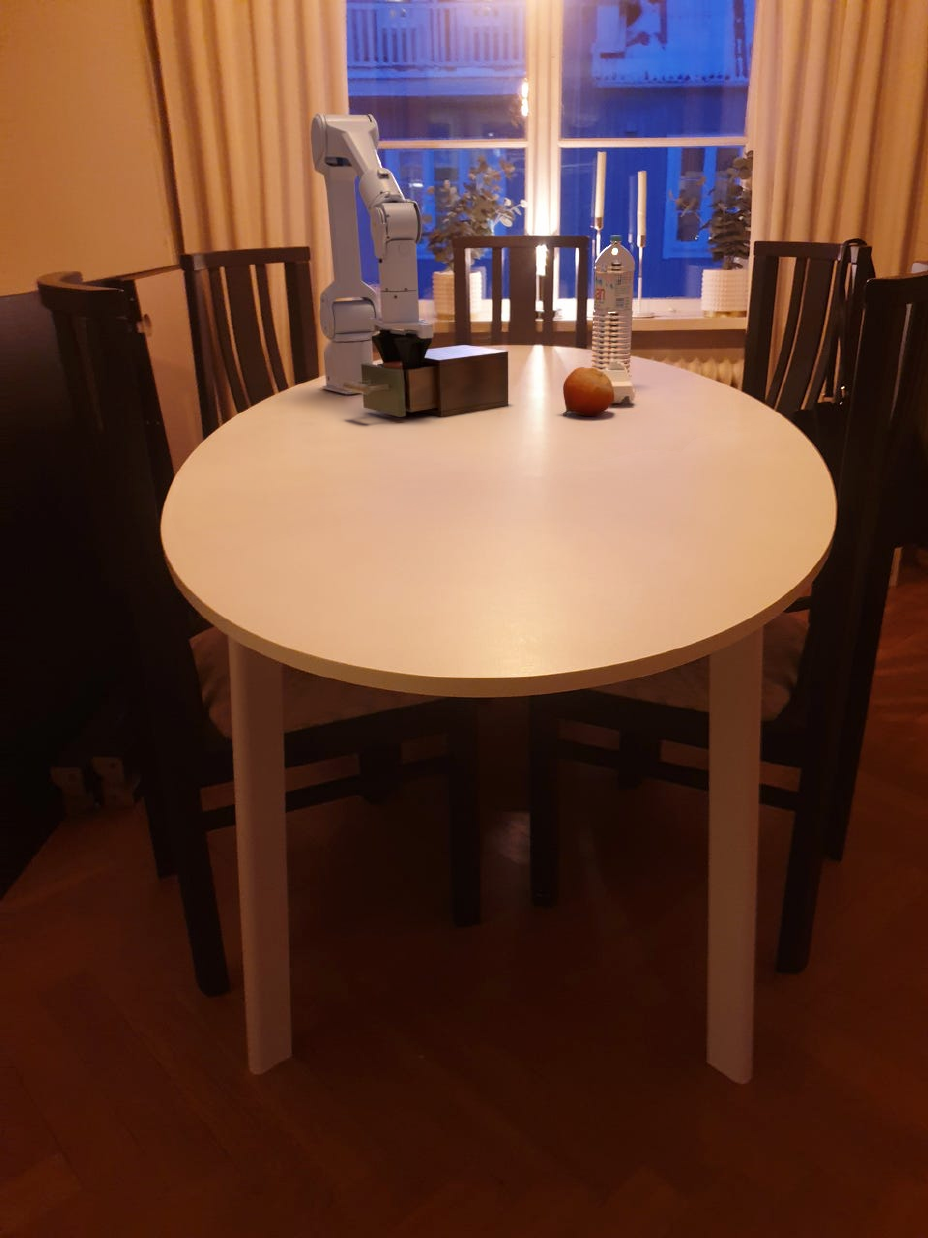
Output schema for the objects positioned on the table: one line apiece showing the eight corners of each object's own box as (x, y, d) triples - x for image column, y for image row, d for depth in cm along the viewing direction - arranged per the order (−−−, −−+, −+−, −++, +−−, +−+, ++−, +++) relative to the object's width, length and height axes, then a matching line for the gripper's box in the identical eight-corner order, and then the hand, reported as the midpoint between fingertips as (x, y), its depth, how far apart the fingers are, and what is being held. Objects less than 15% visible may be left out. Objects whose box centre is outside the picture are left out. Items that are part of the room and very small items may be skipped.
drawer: (373, 421, 134) (370, 374, 131) (338, 411, 141) (334, 367, 139) (465, 406, 143) (464, 362, 140) (427, 397, 151) (426, 355, 148)
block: (384, 391, 142) (382, 362, 140) (407, 388, 144) (406, 359, 142) (399, 395, 139) (398, 365, 137) (423, 391, 141) (422, 362, 139)
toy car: (630, 394, 154) (632, 353, 151) (636, 407, 143) (638, 363, 141) (594, 394, 155) (596, 353, 152) (598, 407, 144) (599, 364, 141)
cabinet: (441, 416, 140) (439, 359, 137) (400, 406, 149) (397, 352, 145) (508, 405, 148) (508, 351, 144) (465, 396, 156) (464, 344, 153)
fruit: (561, 397, 144) (587, 354, 140) (601, 426, 143) (628, 383, 139) (543, 406, 138) (569, 362, 133) (584, 436, 137) (612, 392, 132)
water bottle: (590, 383, 165) (595, 235, 155) (628, 383, 164) (635, 234, 154) (590, 390, 159) (595, 236, 148) (629, 390, 158) (637, 235, 148)
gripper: (448, 290, 132) (451, 384, 138) (395, 286, 143) (399, 374, 148) (409, 293, 128) (413, 390, 134) (356, 289, 139) (362, 379, 145)
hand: (403, 382), depth 141 cm, fingers closed on block, 4 cm apart
